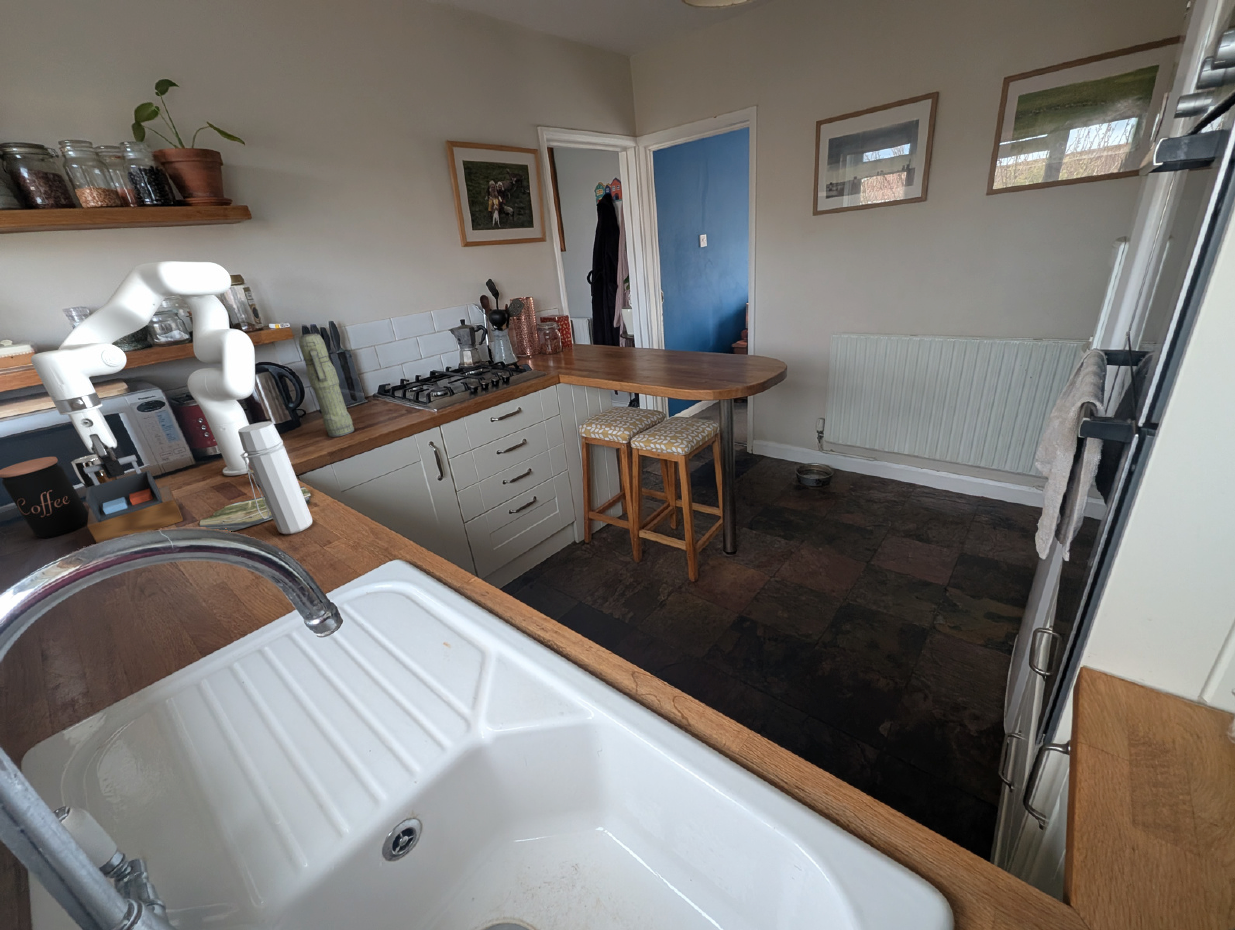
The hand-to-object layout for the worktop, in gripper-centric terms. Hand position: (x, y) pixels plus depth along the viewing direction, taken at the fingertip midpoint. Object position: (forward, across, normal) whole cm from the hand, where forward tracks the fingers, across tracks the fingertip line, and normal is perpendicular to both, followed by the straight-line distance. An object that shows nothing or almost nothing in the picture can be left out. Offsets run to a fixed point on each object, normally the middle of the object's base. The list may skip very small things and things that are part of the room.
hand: (116, 474), depth 130 cm
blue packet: (+7, -6, +2) cm, 9 cm away
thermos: (+13, +28, -58) cm, 66 cm away
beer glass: (+13, +19, +5) cm, 24 cm away
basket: (+7, -5, 0) cm, 9 cm away
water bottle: (+13, -42, -26) cm, 51 cm away
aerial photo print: (+13, -24, -22) cm, 35 cm away
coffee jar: (+13, +14, +15) cm, 24 cm away
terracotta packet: (+7, -5, -2) cm, 8 cm away
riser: (+13, -4, 0) cm, 14 cm away
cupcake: (+13, -2, -30) cm, 32 cm away
